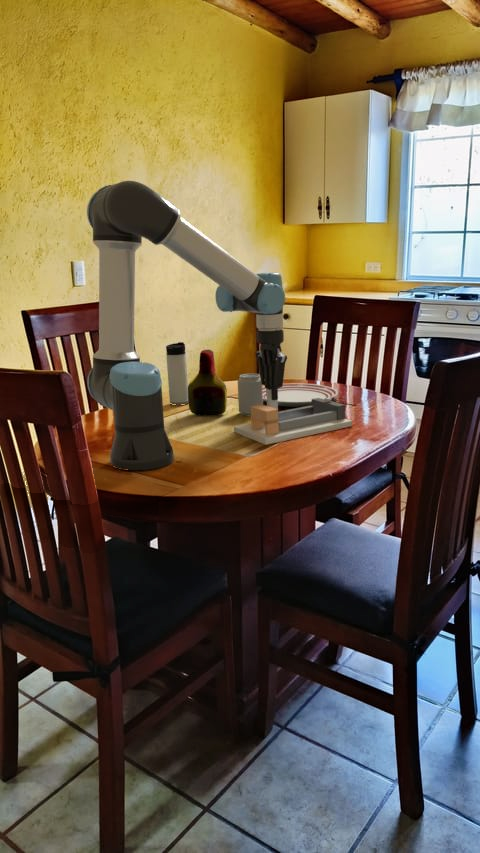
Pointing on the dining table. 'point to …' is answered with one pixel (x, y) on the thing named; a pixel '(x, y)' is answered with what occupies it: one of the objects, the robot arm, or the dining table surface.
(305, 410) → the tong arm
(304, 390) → the dinner plate
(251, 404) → the can
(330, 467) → the dining table surface
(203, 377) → the bottle
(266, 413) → the tan wooden block
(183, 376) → the travel mug
